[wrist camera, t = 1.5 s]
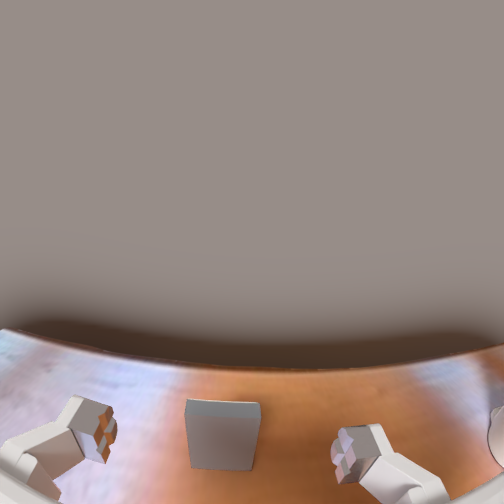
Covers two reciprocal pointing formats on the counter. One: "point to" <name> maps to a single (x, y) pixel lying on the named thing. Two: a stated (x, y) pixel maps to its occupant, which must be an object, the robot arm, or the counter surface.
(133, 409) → the counter surface
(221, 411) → the grey upright panel
